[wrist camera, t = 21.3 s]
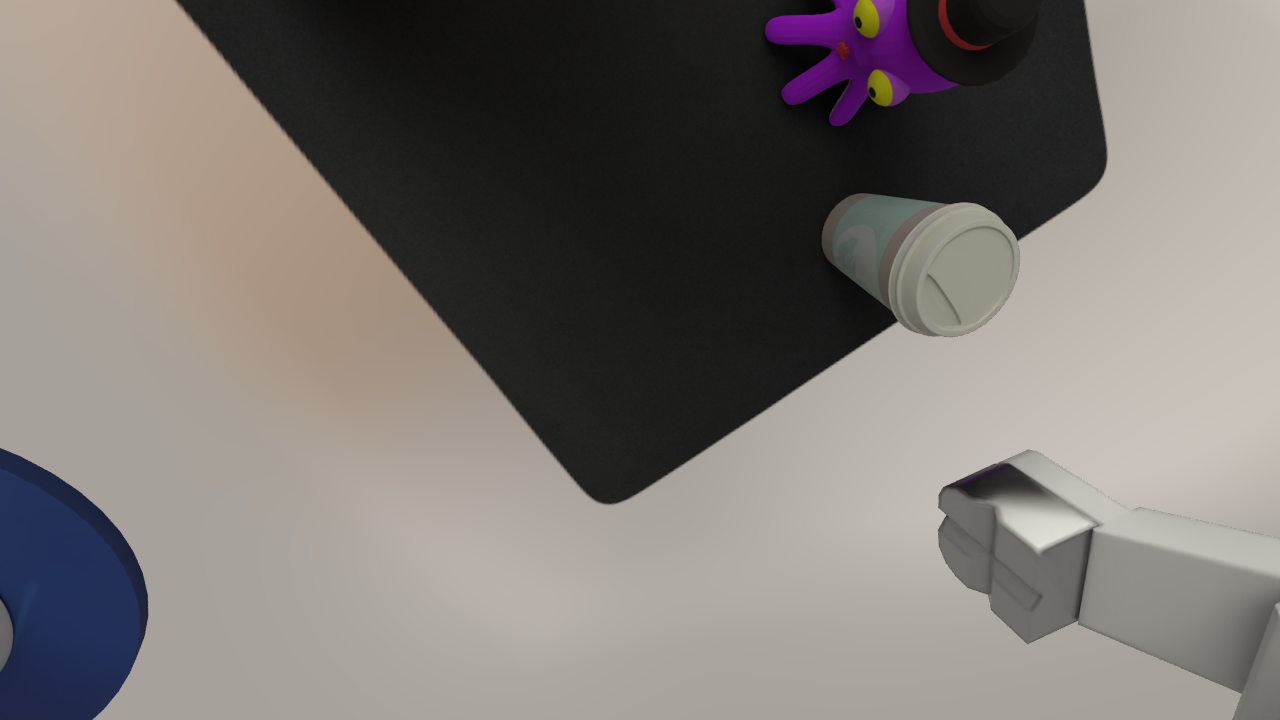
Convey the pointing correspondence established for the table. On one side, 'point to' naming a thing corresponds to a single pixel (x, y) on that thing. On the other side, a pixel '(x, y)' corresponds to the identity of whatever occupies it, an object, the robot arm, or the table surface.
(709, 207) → the table surface
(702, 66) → the table surface
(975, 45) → the toy
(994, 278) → the coffee cup
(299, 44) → the table surface
